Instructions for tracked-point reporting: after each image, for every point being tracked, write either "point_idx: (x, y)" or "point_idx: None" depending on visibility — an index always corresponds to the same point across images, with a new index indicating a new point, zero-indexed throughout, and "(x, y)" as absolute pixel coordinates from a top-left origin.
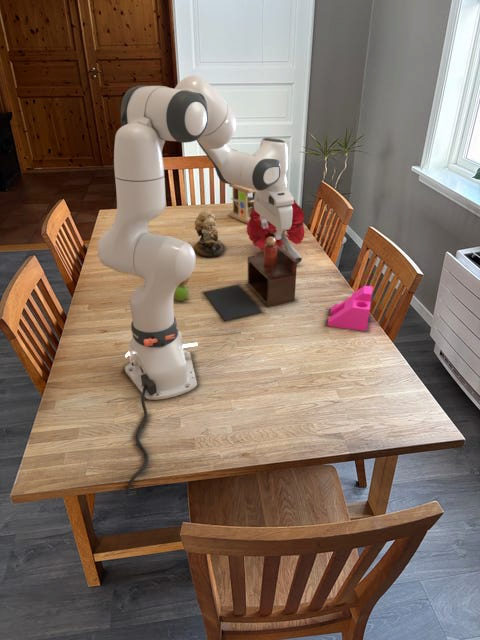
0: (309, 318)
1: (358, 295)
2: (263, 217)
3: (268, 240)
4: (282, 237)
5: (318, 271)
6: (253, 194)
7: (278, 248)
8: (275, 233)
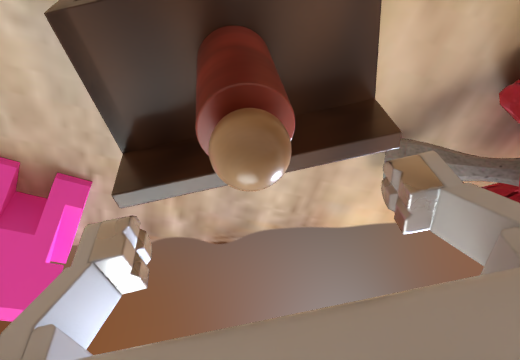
0: (18, 111)
1: (3, 286)
2: (409, 295)
3: (226, 141)
4: (512, 172)
5: (323, 197)
6: None
7: (301, 155)
8: (112, 262)
